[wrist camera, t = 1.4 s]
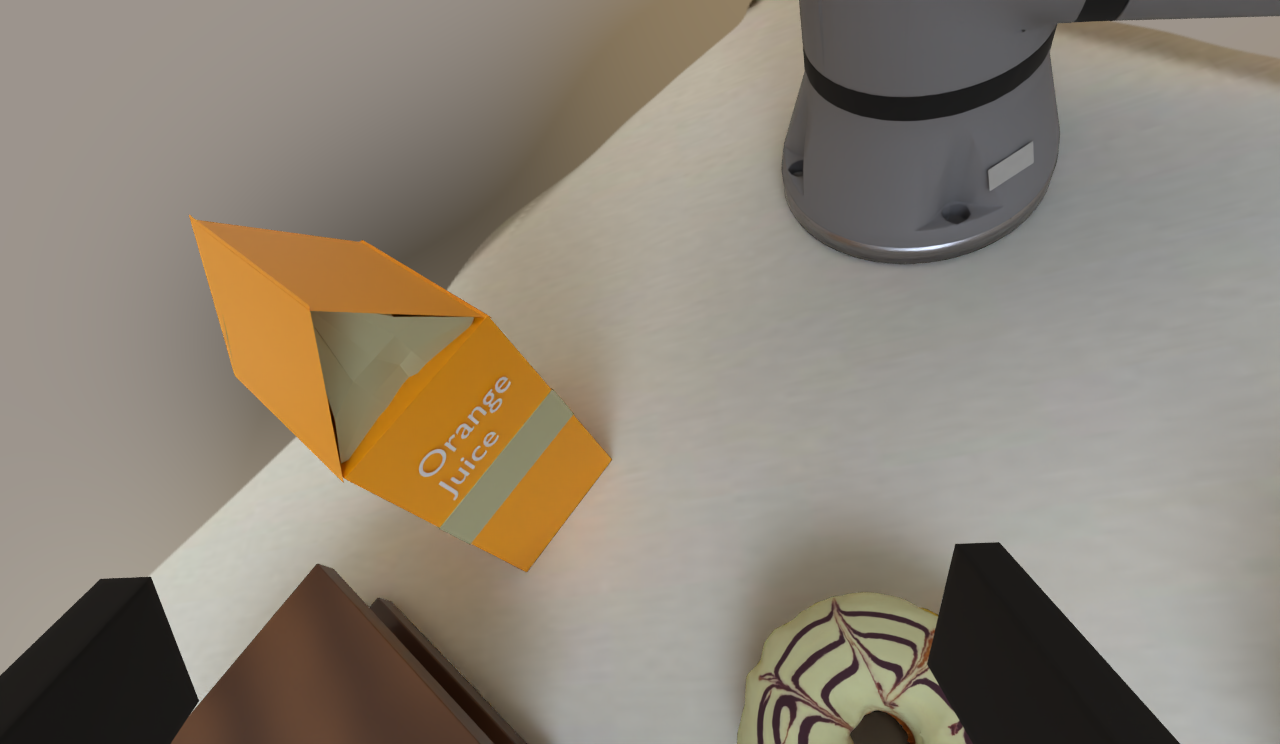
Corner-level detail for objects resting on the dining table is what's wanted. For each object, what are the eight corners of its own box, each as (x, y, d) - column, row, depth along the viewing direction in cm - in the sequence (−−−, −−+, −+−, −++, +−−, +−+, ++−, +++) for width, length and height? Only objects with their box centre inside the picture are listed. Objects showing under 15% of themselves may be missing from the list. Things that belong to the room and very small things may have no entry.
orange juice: (511, 388, 40) (268, 139, 23) (614, 458, 36) (405, 211, 19) (427, 490, 38) (97, 296, 22) (525, 576, 34) (205, 417, 17)
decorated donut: (703, 787, 27) (683, 793, 24) (816, 562, 30) (811, 541, 27) (960, 989, 22) (978, 1030, 19) (1065, 694, 25) (1095, 687, 22)
